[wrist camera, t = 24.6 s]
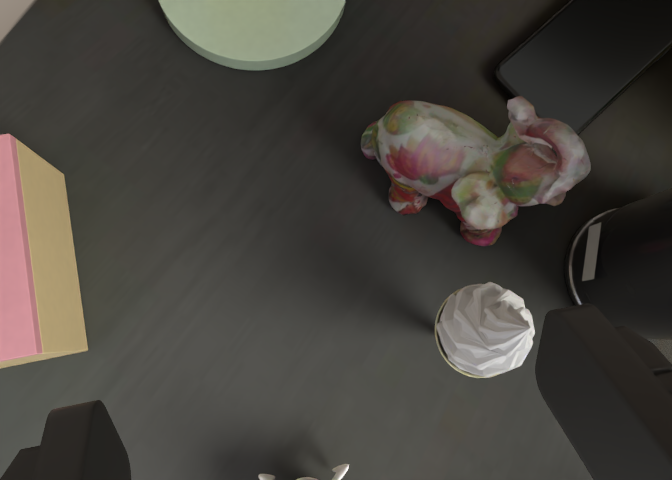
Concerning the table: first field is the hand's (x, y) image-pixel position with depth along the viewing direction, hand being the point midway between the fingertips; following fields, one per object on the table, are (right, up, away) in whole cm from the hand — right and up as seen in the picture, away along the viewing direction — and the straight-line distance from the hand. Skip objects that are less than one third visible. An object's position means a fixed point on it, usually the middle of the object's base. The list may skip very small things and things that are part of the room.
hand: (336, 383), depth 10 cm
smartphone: (+20, +17, +34) cm, 43 cm away
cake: (-20, +1, +27) cm, 34 cm away
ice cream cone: (+7, -4, +29) cm, 30 cm away
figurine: (+7, +7, +31) cm, 33 cm away
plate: (-6, +22, +32) cm, 39 cm away
